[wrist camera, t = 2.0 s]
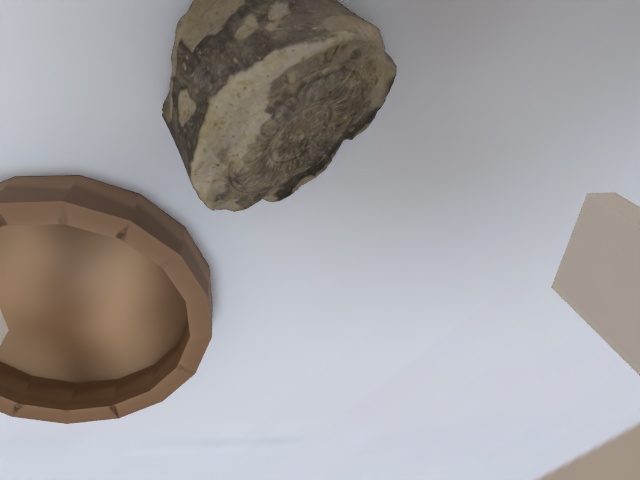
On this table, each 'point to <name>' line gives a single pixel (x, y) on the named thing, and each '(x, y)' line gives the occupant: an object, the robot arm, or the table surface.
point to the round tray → (95, 301)
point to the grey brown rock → (270, 94)
